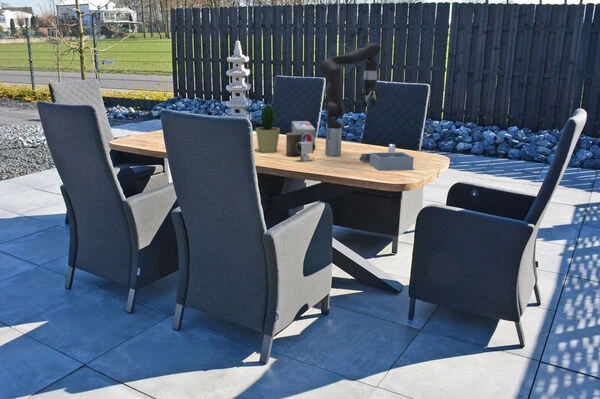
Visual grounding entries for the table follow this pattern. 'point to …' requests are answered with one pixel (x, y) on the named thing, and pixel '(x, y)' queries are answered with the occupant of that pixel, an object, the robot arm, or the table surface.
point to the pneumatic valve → (304, 149)
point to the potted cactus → (267, 132)
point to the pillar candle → (292, 144)
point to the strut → (391, 150)
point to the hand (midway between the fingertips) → (368, 106)
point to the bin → (391, 161)
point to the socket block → (365, 158)
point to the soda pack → (304, 130)
